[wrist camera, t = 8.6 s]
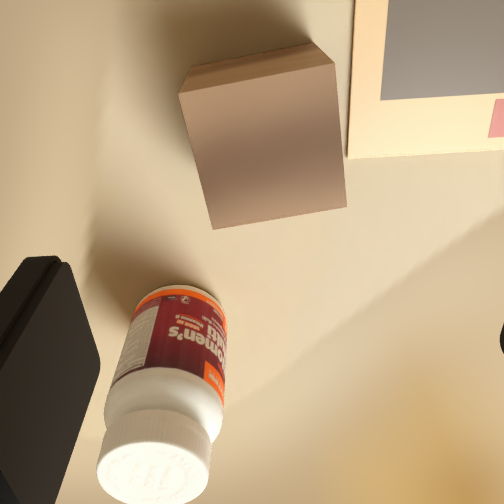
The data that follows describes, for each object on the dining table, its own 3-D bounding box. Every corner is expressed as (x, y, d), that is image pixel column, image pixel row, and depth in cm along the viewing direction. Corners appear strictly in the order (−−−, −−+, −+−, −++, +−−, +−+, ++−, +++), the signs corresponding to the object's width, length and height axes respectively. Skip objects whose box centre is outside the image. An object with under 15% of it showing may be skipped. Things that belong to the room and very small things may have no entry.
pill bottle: (246, 313, 31) (248, 470, 21) (191, 366, 33) (170, 529, 23) (168, 264, 29) (132, 413, 19) (115, 324, 31) (59, 485, 21)
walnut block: (191, 66, 23) (177, 93, 18) (313, 42, 22) (334, 62, 17) (218, 178, 26) (212, 229, 21) (325, 159, 25) (346, 206, 20)
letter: (364, -188, 18) (365, -190, 18) (623, -206, 18) (627, -208, 18) (346, 157, 25) (347, 159, 25) (531, 146, 25) (533, 147, 25)
